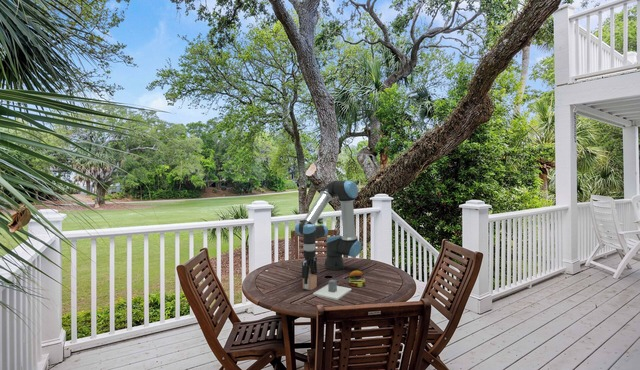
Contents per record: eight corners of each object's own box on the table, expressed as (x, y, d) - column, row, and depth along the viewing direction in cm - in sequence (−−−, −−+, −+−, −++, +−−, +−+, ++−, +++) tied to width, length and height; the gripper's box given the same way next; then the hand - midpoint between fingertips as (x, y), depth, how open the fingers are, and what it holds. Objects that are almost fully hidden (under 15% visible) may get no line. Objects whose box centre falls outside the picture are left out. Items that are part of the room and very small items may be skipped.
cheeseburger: (352, 288, 207) (350, 271, 209) (346, 287, 217) (345, 270, 219) (368, 286, 210) (366, 269, 212) (361, 285, 220) (359, 269, 222)
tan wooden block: (308, 285, 213) (308, 273, 213) (316, 287, 210) (316, 274, 210) (302, 288, 208) (302, 276, 208) (311, 290, 205) (311, 277, 205)
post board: (328, 285, 213) (328, 274, 212) (351, 290, 205) (351, 278, 204) (312, 294, 197) (312, 283, 197) (337, 300, 189) (337, 287, 189)
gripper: (312, 246, 218) (312, 281, 219) (295, 252, 202) (295, 291, 203) (322, 247, 214) (323, 283, 215) (305, 254, 198) (306, 293, 199)
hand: (309, 287), depth 209 cm, fingers closed on tan wooden block, 6 cm apart
